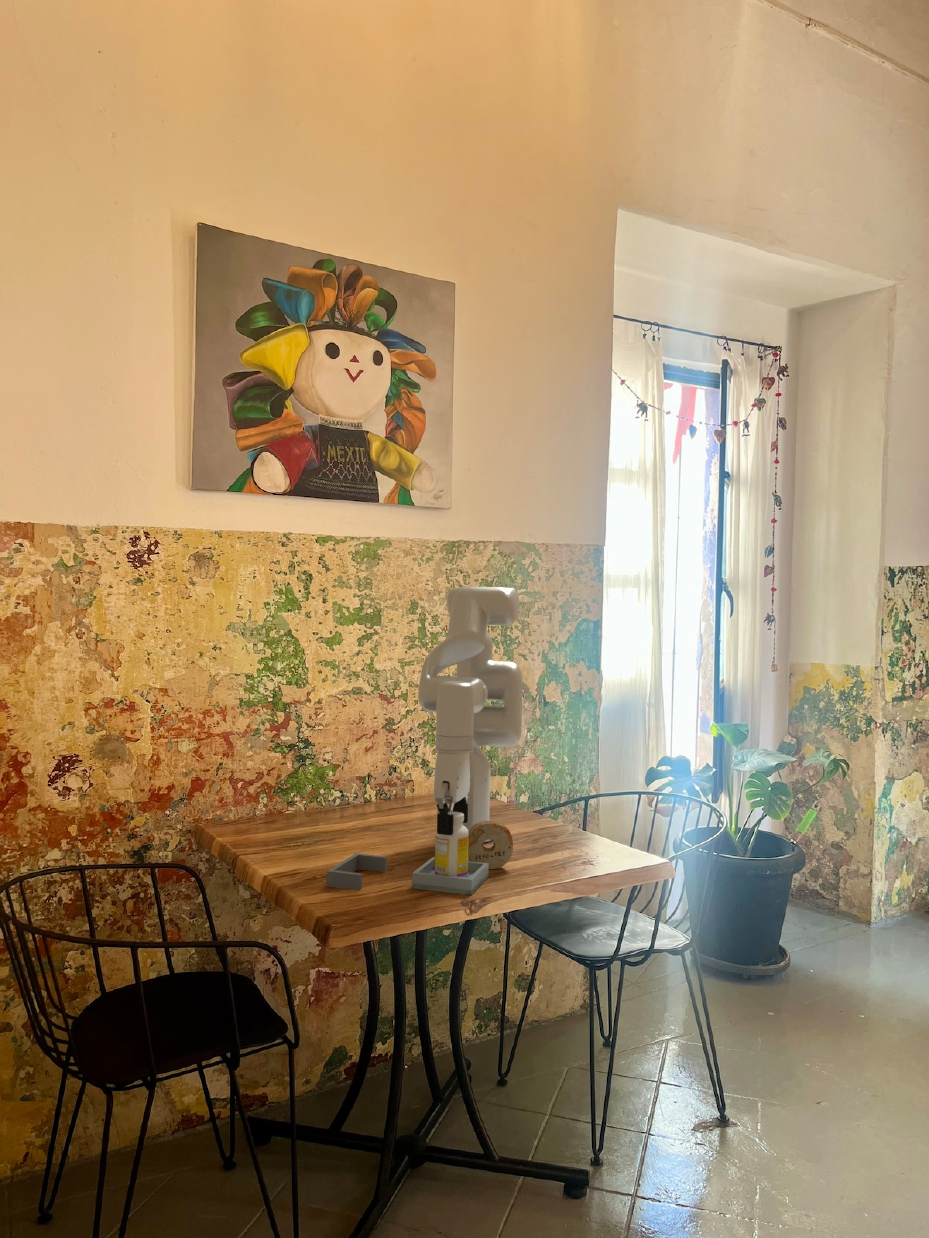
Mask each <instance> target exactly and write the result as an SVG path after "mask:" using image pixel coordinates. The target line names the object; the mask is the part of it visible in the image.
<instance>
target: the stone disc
mask: <svg viewBox="0 0 929 1238" xmlns="http://www.w3.org/2000/svg"><path fill="white" fill-rule="evenodd" d="M468 833H469V839H468V861H472V862H482V863H489V868H488V869H489V870H498V869H500V868H502V867H504V866H505V865H506V864H507V863H508V862H509V860H510V859H511V857H512V855H513V851H514V844H513V841H514V840H513V836H512V833H511V832H510V829H509V828H508V827H507V826H506V825H504V824H503V823H501V822H497V821H495V820H493V821H490V820H489V821H483V822H478V823H476V824H475V825H473V826H472V827H471V828H470V829H469V831H468ZM488 839H490V840H491V841H492V842H493V845H492V847H490V848H488V847H486V846H484V843H485V842H484V841H485V840H488Z"/></svg>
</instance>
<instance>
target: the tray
mask: <svg viewBox="0 0 929 1238" xmlns="http://www.w3.org/2000/svg"><path fill="white" fill-rule="evenodd" d="M488 868H489V863H482V862H472V861H468V877H467V878H463V877H454V876H445V875H437V874H435V856H432V857H431V858H429V859H428V860H427V861H426V862H425V863H423V864H421V865H420V867H418V868H417V869H416V870H414V871H413V872H412V879H411V880H412V882H411V883H412V885H411V886H412V889H416V890H423V891H431V892H439V893H449V894H456V893H460V894H459V895H464V894H469V895H468V896H472V895H473V894H475V892H476V891H477V890H478V889H479V888H480V887H481V886H482V885H483V884H484V883H485V882H486V881H487V880H488V879H489V870H488ZM487 878H488V879H487ZM486 879H487V880H486ZM485 880H486V881H485ZM484 881H485V882H484ZM482 883H483V884H482ZM481 884H482V885H481ZM479 886H480V887H479ZM478 887H479V888H478ZM477 888H478V889H477ZM475 890H476V891H475ZM472 893H473V894H472Z"/></svg>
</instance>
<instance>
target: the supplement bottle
mask: <svg viewBox="0 0 929 1238" xmlns="http://www.w3.org/2000/svg"><path fill="white" fill-rule="evenodd" d="M452 814H453V815H454V821H453V834H452V835H442V834H438V833H437V828H435V839H434V840H435V841H434V843H435V844H434V857H435V874H437V875H445V876H454V877H463V878H467V877H468V839H469V833H468V829H467V828H466V827H465V826H463V821H464V814H463V813H460V812H452Z"/></svg>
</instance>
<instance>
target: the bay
mask: <svg viewBox="0 0 929 1238" xmlns="http://www.w3.org/2000/svg"><path fill="white" fill-rule="evenodd" d="M358 870H363V871H372V872H380V873H381V872H382V873H386V872H387V871H388V856H387V855H385V856H384V855H378V854H377V855H375V854H368V853H367V854H366V853H360V852H359V853H358V852H355V853H354V854H352V855H351V856H349V857H347V858H346V859H344V860H342V861H341V862H339V863H338V864H336V865H335V866H334V865H333V867H332V868H329V870H327V871H326V887H329V888H338V889H345V890H351V891H352V890H354V891H361V890H363V873H361V872H360V873H359V872H356V871H358Z"/></svg>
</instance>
